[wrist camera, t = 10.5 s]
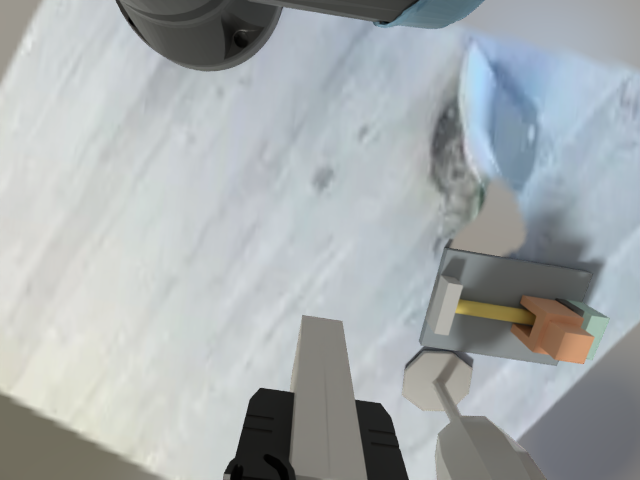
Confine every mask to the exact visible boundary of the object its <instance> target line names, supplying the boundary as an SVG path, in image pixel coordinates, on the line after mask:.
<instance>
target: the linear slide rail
mask: <svg viewBox="0 0 640 480" xmlns="http://www.w3.org/2000/svg"><path fill="white" fill-rule="evenodd" d="M592 275H593V274H592V273H590V272H587V271H583V270H577V269H571V268H565V267H559V266H553V265H547V264H541V263H535V262H529V261H524V260H518V259H512V258H506V257H500V256H494V255H487V254H482V253H476V252H470V251H464V250H458V249H452V248H446V247H445V248H444V251H443V255H442V259H441V262H440V266H439V269H438V273H437V277H436V280H435V284H434V288H433V291H432V295H431V299H430V302H429V306H428V310H427V313H426V317H425V321H424V324H423V328H422V331H421V335H420V339H419V342H420V344H421V346H427V347H434V348H441V349H447V350H454V351H461V352H467V353H474V354H481V355H487V356H494V357H501V358H507V359H514V360H521V361H527V362H534V363H541V364H547V365H554V366H557V365H558V362H559V360H555V359H553V358H552V357H551V356H550V355H547V354H540V353H534V352H532V351H531V350H530V349H529V348H527V347H526V346H525V345H524V344H523V343H522V342H521V341H520V340H519V339H518V338H517V337H516V336H515V335H514V334H513V333H512V332H511V331H510V330H511V327H512V324H519V325H525V326H532V327H533V325H534V323H535V320H536V317H537V316H536V315H535V314H533V313H532V312H531V311H529V310H528V309H527V308H526V307H524V306H523V305H522V304H520V301H521V298H522V295H525V296H531V297H537V298H543V299H550V300H556V301H557V302H559V303H561V304H562V305H564V306H565V307H567V308H568V309H570V310H572V311H573V312H575V313H576V314H578V315H579V316H581V317H583V318H584V321H583V323H582V326H581V328H582V329H584V330H585V331H587V332H588V333H590V334H591V335H593V336H594V337H595V338H594V340H593V343H592V345H591V348H590V350H589V353H588V355H587V357H586V359H588V360H593V358H594V355H595V353H596V350H597V348H598V346H599V343H600V341H601V339H602V336H603V334H604V331H605V329H606V327H607V324H608V322H609V319H610V318H608V317H606V316H605V315H603V314H601V313H600V312H598V311H596V310H594V309H593V308H591V307H589V306H588V305H586V304H584V303H582V301H583V298H584V296H585V293H586V291H587V288H588V285H589V283H590V280H591V278H592Z"/></svg>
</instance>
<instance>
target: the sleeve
mask: <svg viewBox="0 0 640 480" xmlns="http://www.w3.org/2000/svg"><path fill="white" fill-rule="evenodd" d="M520 304H522V305H523V306H524V307H526V308H527V309H528V310H529V311H531V312H532V313H533V314H535V315H536V316H537V317H536V320H535V323H534V325H533V327H532V326H525V325H519V324H512V327H511V330H510V331H511V332H512V333H513V334H514V335H515V336H516V337H517V338H518V339H519V340H520V341H521V342H522V343H523V344H524V345H525V346H526V347H527V348H529V349H530V350H531V351H532V352H534V353H540V354H547V355H550V356H551V357H552V358H553V359H555V360H560V361H566V362H573V363H580V364H584V362H585V360H586V357H587V355H588V353H589V350H590V348H591V345H592V343H593V340H594V338H595V337H594V336H593V335H591V334H590V333H588V332H587V331H585V330H584V329H582V328H581V326H582V323H583V321H584V318H583V317H581V316H579V315H578V314H576V313H575V312H573V311H572V310H570V309H568V308H567V307H565V306H564V305H562V304H561V303H559V302H557V301H556V300H550V299H543V298H537V297H531V296H525V295H522V298H521V301H520Z"/></svg>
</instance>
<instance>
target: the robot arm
mask: <svg viewBox="0 0 640 480" xmlns="http://www.w3.org/2000/svg"><path fill="white" fill-rule="evenodd" d="M483 1H484V0H116V2H117V4H118V6H119V8H120V10H121V12H122V14H123V16H124V17H125V19H126V21H127V22H128V24H129V25H130V26H131V28H132V29H133V30H134V31H135V33H136V34H137V35H138V36H139V37H140V38H141V39H142V40H143V41H144V42H145V43H146V44H147V45H148V46H149V47H151V48H152V49H153V50H155V51H156V52H158V53H159V54H161V55H162V56H164V57H166V58H167V59H169V60H171V61H172V62H174V63H176V64H178V65H181V66H183V67H186V68H190V69H194V70H199V71H220V70H225V69H229V68H232V67H235V66H237V65H239V64H241V63H243V62H245V61H247V60H248V59H250V58H251V57H252V56H253V55H255V54H256V53H257V52H258V51H259V50H260V49H261V48H262V47H263V46H264V44H265V43H266V42H267V41H268V39H269V38H270V36H271V34H272V33H273V31H274V29H275V27H276V24H277V22H278V19H279V16H280V13H281V9H282V7H286V8H292V9H298V10H305V11H311V12H317V13H323V14H329V15H335V16H342V17H348V18H354V19H360V20H366V21H372V22H373V23H374V25H375V26H378V27H383V28H388V27H393V26H397V25H399V26H408V27H417V28H426V29H438V28H443V27H446V26H448V25H449V24H451V23H454V22H456V21H459V20H461V19H463V18H465V17H466V16H467V15H469V14H470V13H471V12H472V11H474V10H475V9H476V8H477V7H478V6H479V5H480V4H481V3H482V2H483ZM223 480H409V479H408V475H407V472H406V468H405V465H404V461H403V458H402V454H401V451H400V449H399V444H398V440H397V437H396V436H395V429H394V426H393V422H392V419H391V417H390V415H389V414H388V413H387V411H386V410H385V409H384V407H383V406H382V405H381V403H375V402H367V401H360V400H355V398H354V392H353V386H352V379H351V373H350V367H349V360H348V354H347V348H346V342H345V335H344V329H343V323H342V321H338V320H332V319H325V318H318V317H312V316H305V315H302V320H301V326H300V332H299V337H298V343H297V348H296V354H295V360H294V365H293V371H292V377H291V385H290V392H287V391H279V390H272V389H265V388H260V389H259V390H258V391H257V392H256V393H255V394H254V395H253V396H252V398H251V399H250V401H249V405H248V409H247V413H246V417H245V421H244V424H243V429H242V432H241V436H240V440H239V444H238V448H237V452H236V456H235V458H234V459H233V460H231V461H230V463H229V465H228V466H227V468H226V470H225V472H224V476H223Z"/></svg>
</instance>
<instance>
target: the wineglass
mask: <svg viewBox="0 0 640 480" xmlns="http://www.w3.org/2000/svg"><path fill="white" fill-rule="evenodd" d="M472 370H473V369H472V367H470V366H469V365H468V364H467V363H465V362H464V361H463V360H462V359H460V358H459V357H458V356H457V355H455V354H454V353H453V352H451V351H423V352H422V353H421V354H420V355H419V356H418V357H417V358H416V359H415V360H413V361H412V362H411V363H410V364H409V365H408V366H407V367H406V368H405V371H404V379H403V388H402V395H403V396H404V397H405V398H406V399H408V400H409V401H410V402H412V403H413V404H414V405H416V406H417V407H418V408H420V409H421V410H423V411H445V412H446V414H447V416H448V418H449V420H450V423H449V424H448V425H447V426H446V427H445V428H444V429H442V430H441V431H440V432H439V433H438V437H437V444H436V451H435V463H436V474H437V480H547V479H546V478H545V476H544V475H543V473H542V472H541V470H540V469H539V468H538V466H537V465H536V463H535V462H534V460H533V459H532V458H531V456H530V455H529V453H528V452H527V451H526V450H525V449H524V448H523V447H521V446H520V445H519V444H518V443H517V442H516V441H515V440H514V439H512V438H511V437H510V436H509V435H508V434H507V433H506V432H505V431H504V430H502V429H501V428H500V427H498V426H497V425H496V424H494V423H493V422H492V421H491V420H489V419H488V418H487V417H485V416H462V415H461V413H460V411H459V410H458V408H457V406H456V405H457V404H458V403H459V402H460V401H461V400H462V399H463V398H464V397H465V396H466V395H467V394H469V388H470V382H471V376H472Z"/></svg>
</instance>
